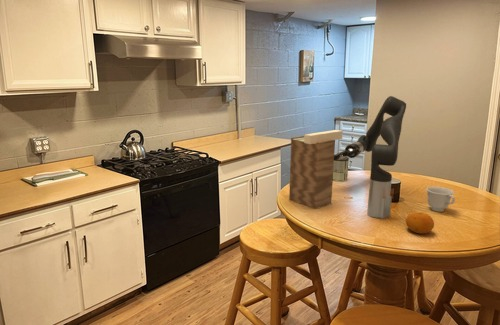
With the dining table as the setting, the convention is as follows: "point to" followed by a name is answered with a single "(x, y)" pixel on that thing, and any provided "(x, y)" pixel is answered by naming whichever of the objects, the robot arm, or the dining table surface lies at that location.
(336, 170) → the coffee can
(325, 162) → the brown patterned box
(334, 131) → the block
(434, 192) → the teacup
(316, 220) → the dining table surface
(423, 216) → the fruit
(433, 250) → the dining table surface
